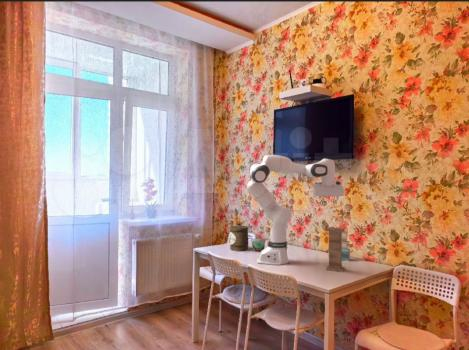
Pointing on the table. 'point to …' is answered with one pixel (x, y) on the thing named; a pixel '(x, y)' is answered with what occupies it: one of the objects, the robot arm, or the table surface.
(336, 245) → the stand
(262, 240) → the food container
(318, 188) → the robot arm
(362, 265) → the table surface
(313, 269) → the table surface
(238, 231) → the wooden container
